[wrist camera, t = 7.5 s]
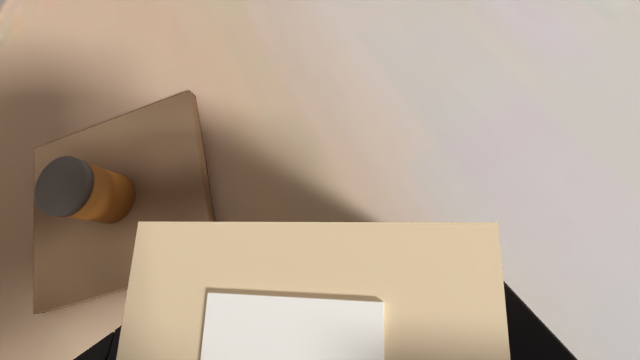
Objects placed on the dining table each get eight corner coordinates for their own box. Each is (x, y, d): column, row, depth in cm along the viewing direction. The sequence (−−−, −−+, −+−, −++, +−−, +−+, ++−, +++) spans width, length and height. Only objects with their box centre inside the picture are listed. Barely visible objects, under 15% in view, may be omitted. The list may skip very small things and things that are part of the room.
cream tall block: (440, 393, 13) (552, 802, 3) (308, 378, 15) (66, 634, 4) (434, 258, 15) (500, 221, 4) (313, 255, 16) (133, 220, 5)
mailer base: (220, 262, 18) (173, 260, 14) (44, 312, 20) (-39, 322, 16) (195, 95, 21) (150, 57, 17) (43, 151, 23) (-27, 128, 19)
